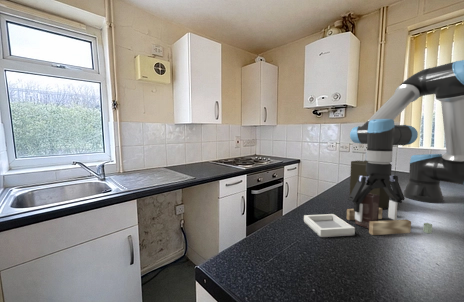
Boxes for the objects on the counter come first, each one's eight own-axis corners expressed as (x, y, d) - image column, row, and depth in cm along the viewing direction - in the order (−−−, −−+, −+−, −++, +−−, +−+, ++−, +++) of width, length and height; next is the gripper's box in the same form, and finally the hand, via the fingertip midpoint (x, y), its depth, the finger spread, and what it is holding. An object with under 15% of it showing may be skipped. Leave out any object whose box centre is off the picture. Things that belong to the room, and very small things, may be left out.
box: (378, 227, 73) (380, 195, 72) (370, 230, 71) (372, 196, 70) (361, 221, 79) (363, 190, 78) (354, 223, 77) (355, 192, 76)
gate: (391, 215, 84) (391, 208, 84) (431, 233, 69) (432, 224, 69) (388, 215, 84) (388, 208, 84) (427, 233, 69) (428, 224, 69)
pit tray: (333, 220, 80) (333, 213, 80) (354, 235, 68) (354, 227, 68) (303, 221, 79) (304, 215, 78) (320, 237, 67) (320, 229, 67)
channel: (378, 217, 83) (379, 207, 82) (410, 232, 69) (411, 221, 69) (346, 218, 81) (346, 209, 81) (372, 235, 68) (373, 223, 68)
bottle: (381, 210, 90) (385, 153, 88) (346, 200, 104) (349, 151, 102) (391, 207, 93) (394, 153, 91) (356, 197, 108) (358, 150, 105)
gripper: (400, 160, 78) (397, 213, 80) (339, 161, 76) (337, 216, 78) (420, 163, 71) (416, 222, 73) (353, 164, 68) (350, 225, 70)
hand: (375, 219), depth 75 cm, fingers open, 13 cm apart
